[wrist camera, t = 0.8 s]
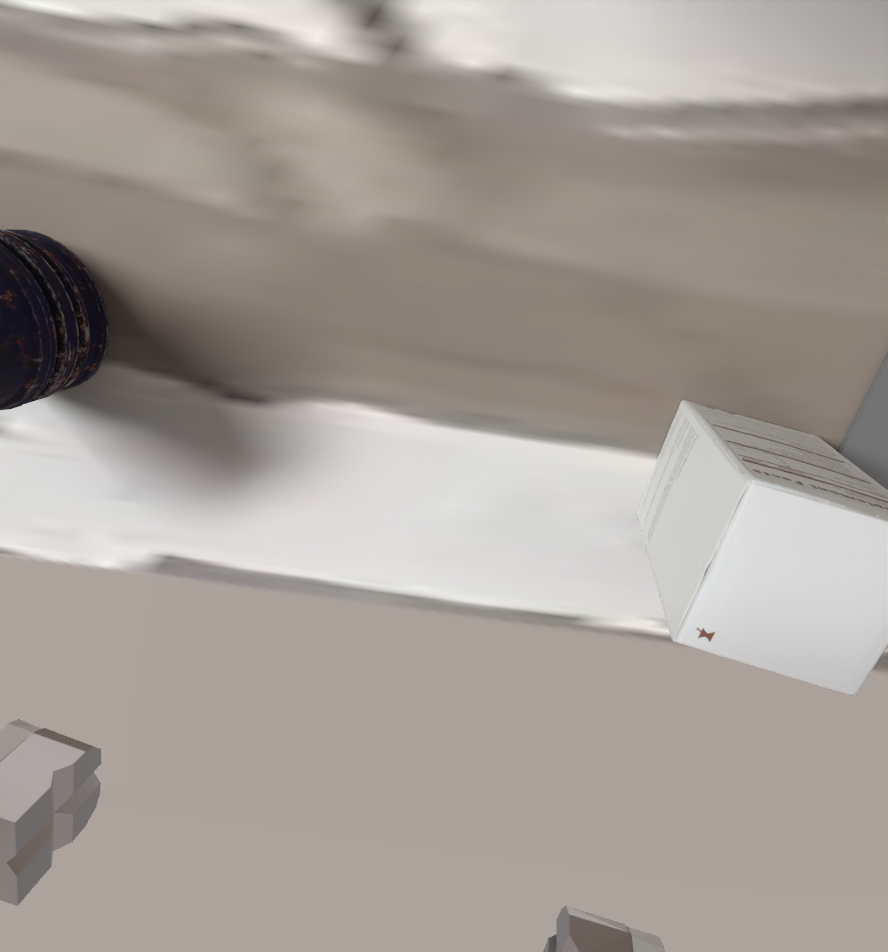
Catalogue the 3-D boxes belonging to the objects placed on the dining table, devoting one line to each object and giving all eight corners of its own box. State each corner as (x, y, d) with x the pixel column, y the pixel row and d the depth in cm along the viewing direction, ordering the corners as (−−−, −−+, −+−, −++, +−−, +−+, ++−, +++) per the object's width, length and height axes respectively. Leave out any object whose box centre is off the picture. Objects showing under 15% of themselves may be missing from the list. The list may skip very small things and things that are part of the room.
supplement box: (758, 550, 35) (855, 706, 23) (632, 512, 35) (665, 645, 24) (821, 432, 32) (967, 542, 20) (682, 392, 32) (747, 478, 21)
